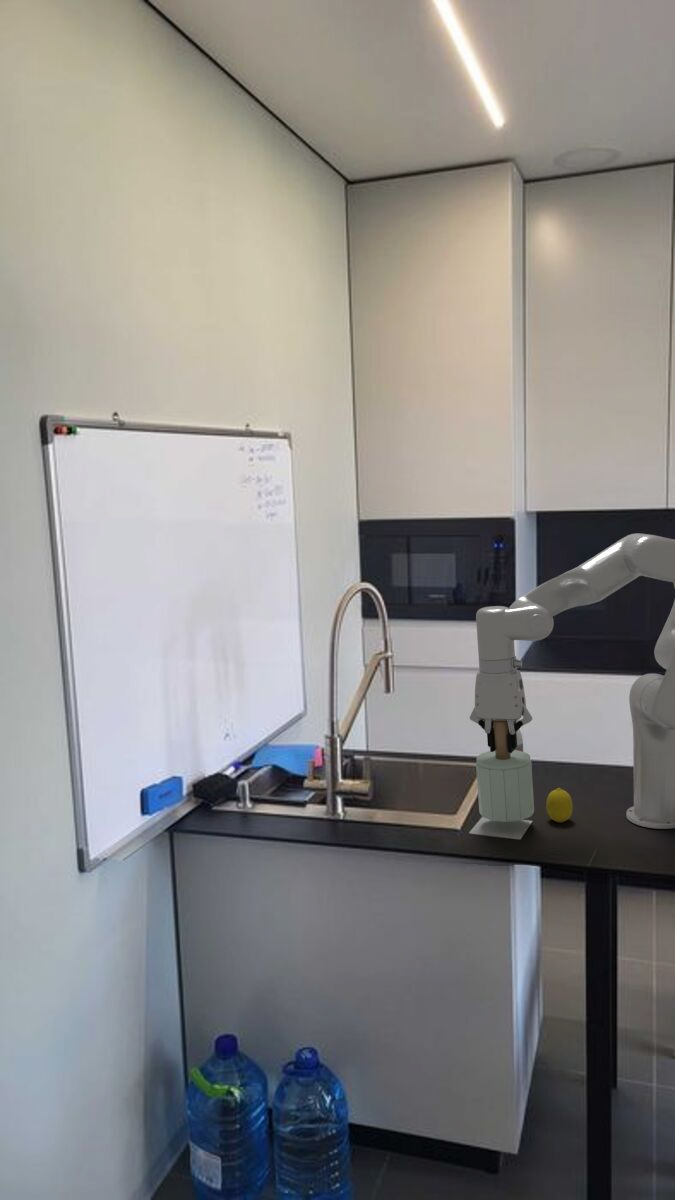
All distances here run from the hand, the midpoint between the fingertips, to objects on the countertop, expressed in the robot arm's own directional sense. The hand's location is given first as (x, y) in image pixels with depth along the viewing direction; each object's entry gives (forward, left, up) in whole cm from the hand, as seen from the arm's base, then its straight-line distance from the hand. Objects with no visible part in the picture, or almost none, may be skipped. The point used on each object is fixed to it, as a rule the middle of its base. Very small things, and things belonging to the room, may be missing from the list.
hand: (502, 749), depth 192 cm
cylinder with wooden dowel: (0, 0, -14) cm, 14 cm away
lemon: (-10, -7, -18) cm, 21 cm away
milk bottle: (+7, -29, -18) cm, 34 cm away
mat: (+1, 0, -18) cm, 18 cm away
